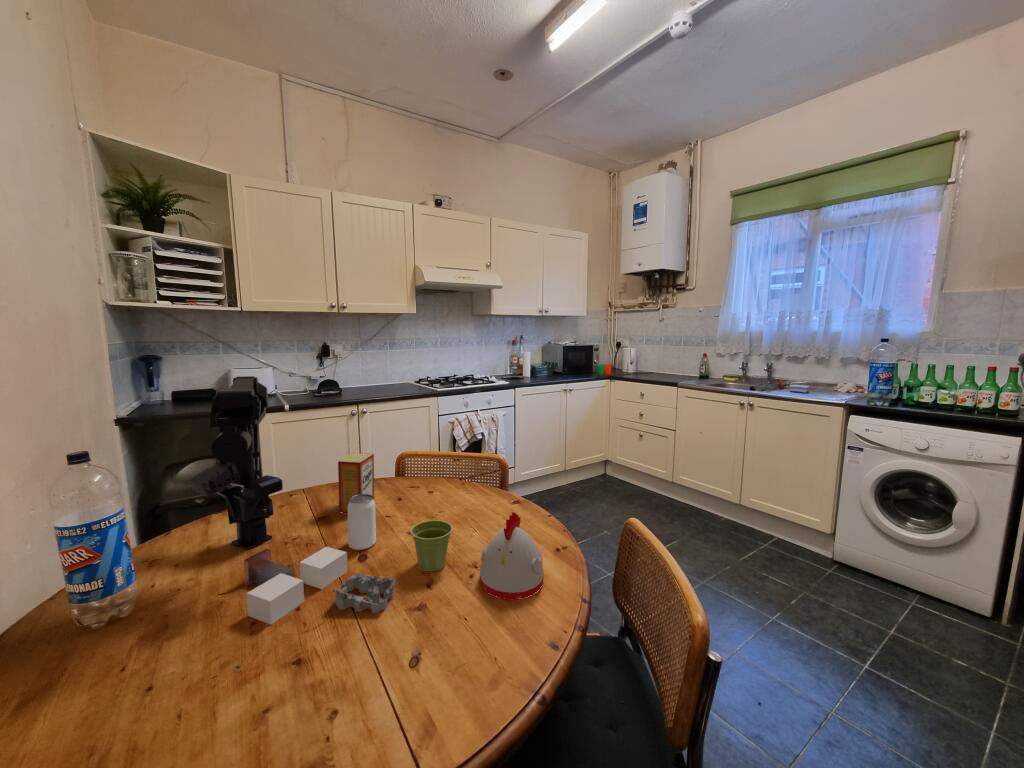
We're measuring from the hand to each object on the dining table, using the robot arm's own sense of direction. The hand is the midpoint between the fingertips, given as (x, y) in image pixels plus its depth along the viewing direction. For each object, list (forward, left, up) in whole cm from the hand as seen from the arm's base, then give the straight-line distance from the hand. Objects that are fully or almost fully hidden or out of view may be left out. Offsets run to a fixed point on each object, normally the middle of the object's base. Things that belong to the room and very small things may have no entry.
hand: (241, 520), depth 87 cm
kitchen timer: (+54, +21, -12) cm, 60 cm away
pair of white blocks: (+17, 0, -12) cm, 21 cm away
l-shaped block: (+9, 0, -12) cm, 15 cm away
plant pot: (+35, +19, -12) cm, 42 cm away
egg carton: (+30, +3, -12) cm, 33 cm away
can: (+14, +20, -12) cm, 28 cm away
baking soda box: (-3, +37, -12) cm, 39 cm away
